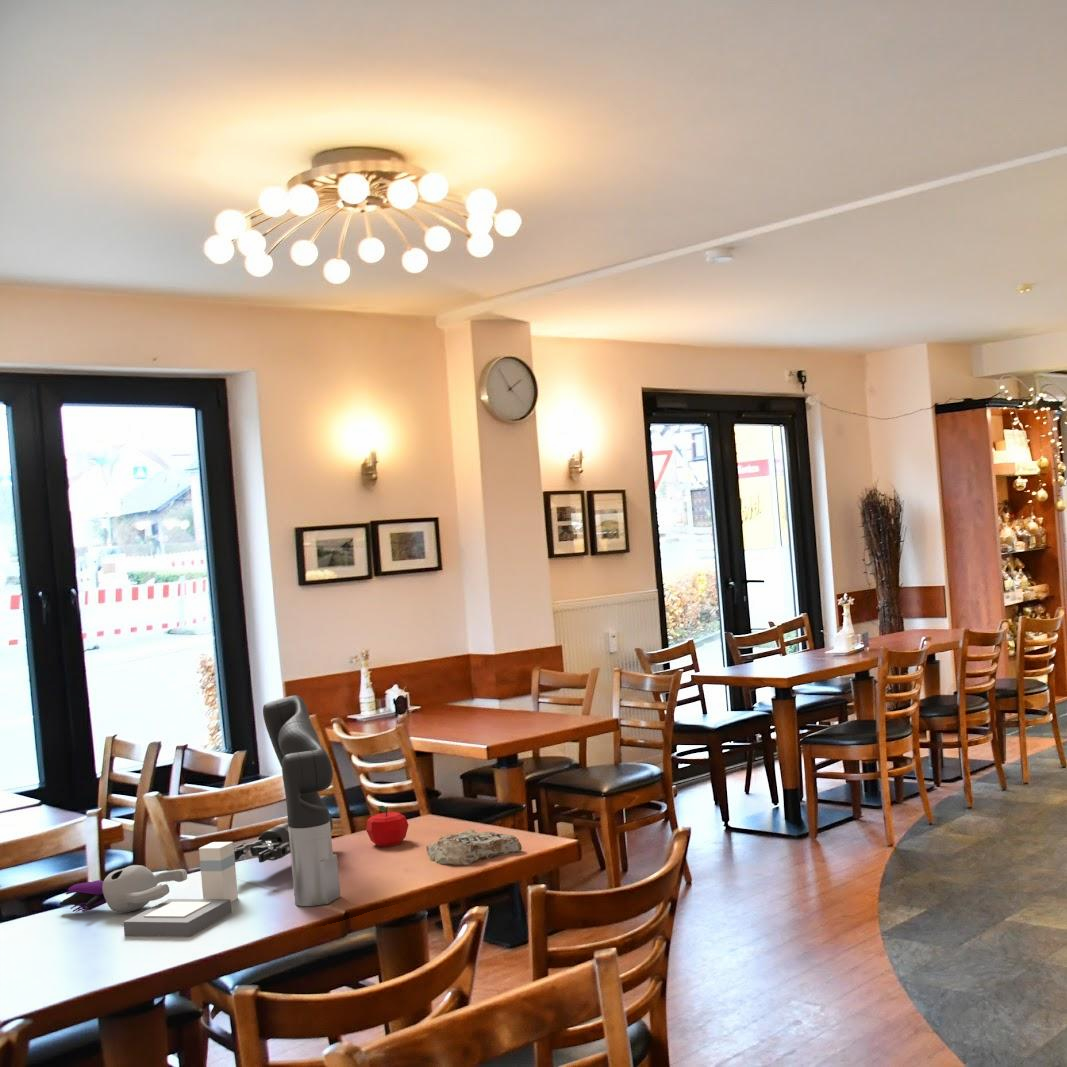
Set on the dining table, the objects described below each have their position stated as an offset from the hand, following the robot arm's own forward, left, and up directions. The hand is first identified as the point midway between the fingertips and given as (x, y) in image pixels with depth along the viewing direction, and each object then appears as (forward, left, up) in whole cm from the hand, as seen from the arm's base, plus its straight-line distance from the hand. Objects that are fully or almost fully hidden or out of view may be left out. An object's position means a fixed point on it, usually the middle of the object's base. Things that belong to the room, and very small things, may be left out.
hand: (244, 858), depth 285 cm
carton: (0, +11, -7) cm, 13 cm away
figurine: (+22, +18, -7) cm, 29 cm away
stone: (-43, -30, -8) cm, 53 cm away
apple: (-18, -40, -7) cm, 45 cm away
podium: (0, +27, -7) cm, 28 cm away
